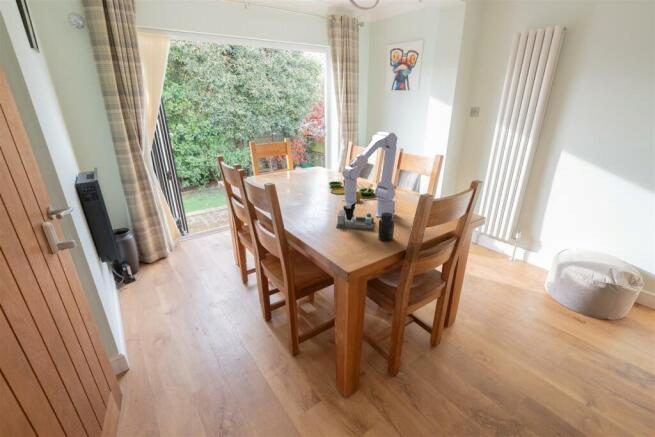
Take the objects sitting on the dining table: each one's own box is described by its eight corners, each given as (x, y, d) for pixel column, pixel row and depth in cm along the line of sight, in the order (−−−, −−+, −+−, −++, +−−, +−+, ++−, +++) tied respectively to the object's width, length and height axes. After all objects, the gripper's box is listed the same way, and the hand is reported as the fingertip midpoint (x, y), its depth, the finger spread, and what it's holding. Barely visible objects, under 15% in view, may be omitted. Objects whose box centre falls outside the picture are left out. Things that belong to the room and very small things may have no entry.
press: (373, 221, 153) (374, 211, 151) (372, 230, 143) (373, 219, 141) (339, 219, 156) (339, 209, 154) (336, 227, 146) (336, 216, 144)
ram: (371, 221, 151) (372, 211, 149) (371, 226, 144) (371, 216, 142) (365, 220, 151) (366, 211, 149) (364, 226, 145) (365, 216, 143)
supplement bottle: (391, 235, 137) (393, 211, 133) (394, 241, 131) (397, 216, 126) (376, 235, 137) (378, 211, 133) (379, 242, 131) (381, 217, 126)
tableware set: (382, 201, 185) (382, 191, 183) (339, 204, 180) (339, 194, 177) (361, 184, 222) (361, 175, 220) (325, 186, 217) (325, 178, 215)
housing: (354, 221, 151) (354, 212, 149) (353, 224, 147) (353, 215, 145) (345, 220, 152) (345, 211, 150) (344, 224, 148) (344, 214, 146)
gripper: (344, 186, 150) (343, 211, 156) (340, 195, 137) (340, 222, 142) (358, 187, 149) (357, 212, 154) (355, 195, 136) (354, 223, 141)
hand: (349, 217), depth 148 cm, fingers open, 7 cm apart
